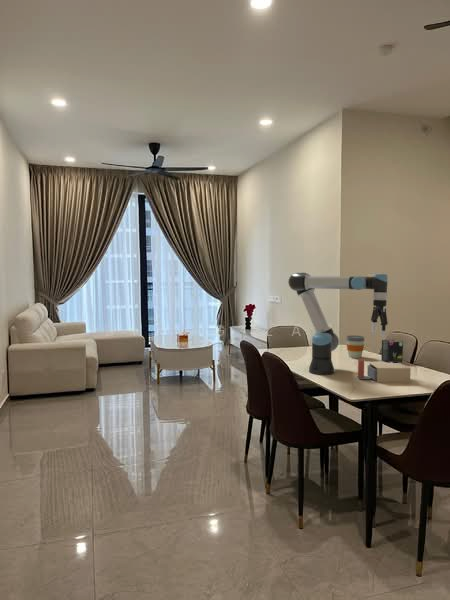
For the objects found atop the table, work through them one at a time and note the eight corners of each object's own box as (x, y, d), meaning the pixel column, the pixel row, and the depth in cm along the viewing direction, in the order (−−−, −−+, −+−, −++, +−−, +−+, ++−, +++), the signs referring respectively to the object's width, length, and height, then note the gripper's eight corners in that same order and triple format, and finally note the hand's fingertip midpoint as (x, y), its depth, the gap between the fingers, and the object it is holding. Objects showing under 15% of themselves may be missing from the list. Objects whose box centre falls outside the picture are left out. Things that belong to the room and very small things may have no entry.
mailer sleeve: (377, 382, 245) (377, 368, 244) (369, 376, 260) (369, 362, 259) (410, 382, 244) (410, 368, 244) (400, 376, 259) (400, 362, 259)
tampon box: (389, 363, 298) (389, 341, 297) (380, 360, 307) (381, 339, 306) (403, 362, 301) (403, 341, 300) (394, 359, 310) (394, 339, 309)
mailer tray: (361, 380, 246) (361, 362, 246) (355, 375, 258) (355, 358, 258) (404, 380, 245) (405, 362, 245) (396, 375, 258) (397, 358, 257)
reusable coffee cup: (362, 355, 326) (362, 335, 325) (365, 358, 314) (366, 337, 313) (344, 355, 328) (345, 335, 327) (347, 358, 315) (347, 337, 314)
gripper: (394, 301, 253) (393, 337, 254) (378, 298, 278) (376, 331, 279) (381, 300, 253) (380, 337, 254) (366, 298, 277) (365, 331, 279)
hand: (378, 334), depth 266 cm, fingers open, 13 cm apart
